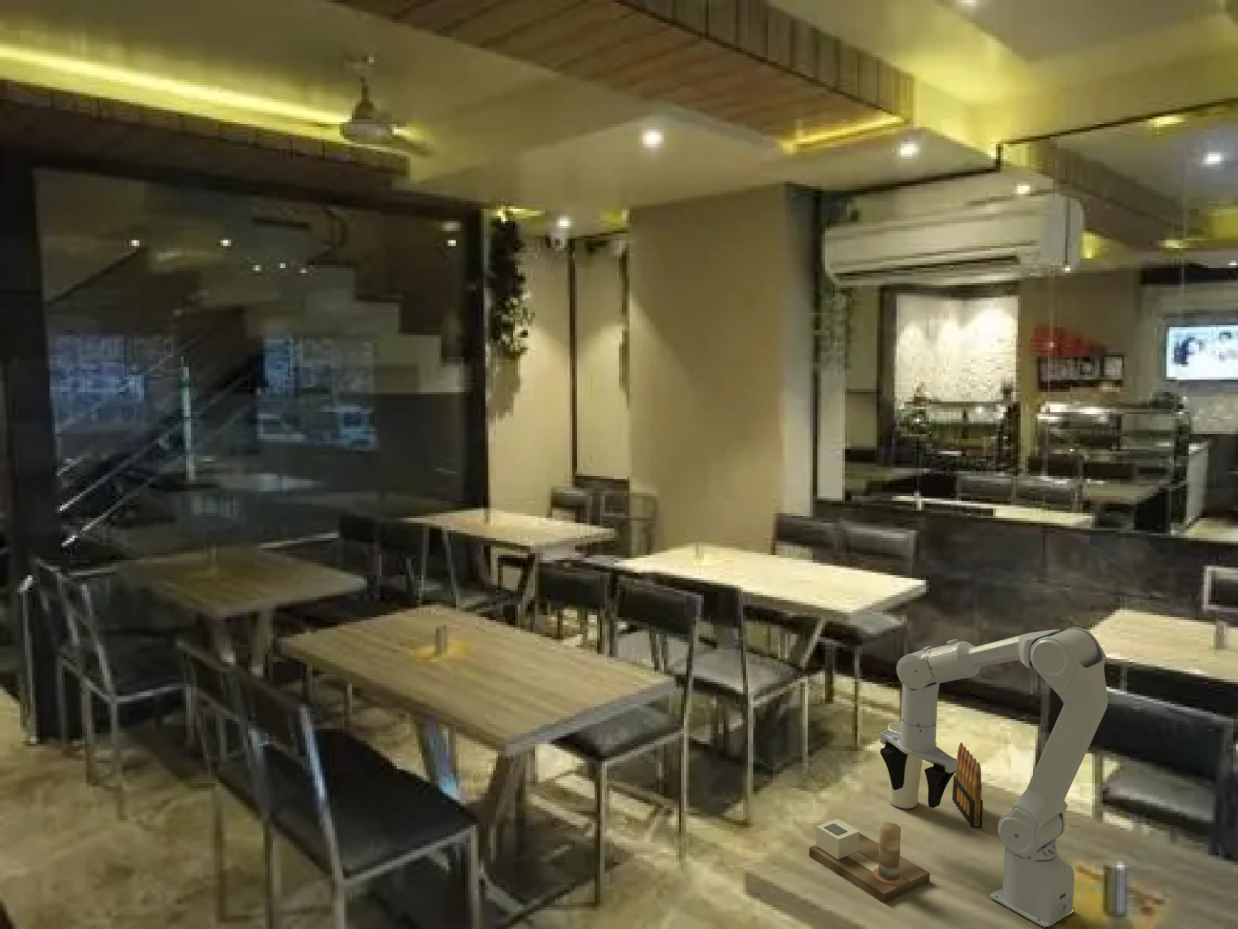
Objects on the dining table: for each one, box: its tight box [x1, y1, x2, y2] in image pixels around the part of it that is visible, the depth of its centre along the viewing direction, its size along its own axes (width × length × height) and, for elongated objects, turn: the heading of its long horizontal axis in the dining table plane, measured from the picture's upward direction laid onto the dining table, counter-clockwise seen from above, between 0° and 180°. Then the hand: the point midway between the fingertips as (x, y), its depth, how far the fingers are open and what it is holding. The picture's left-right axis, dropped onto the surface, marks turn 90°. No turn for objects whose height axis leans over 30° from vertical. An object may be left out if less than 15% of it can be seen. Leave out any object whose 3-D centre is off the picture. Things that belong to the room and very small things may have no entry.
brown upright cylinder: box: [878, 821, 902, 881], centre depth 141 cm, size 3×3×8 cm
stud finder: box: [815, 818, 860, 859], centre depth 149 cm, size 5×5×4 cm
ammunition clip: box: [951, 741, 984, 829], centre depth 165 cm, size 11×2×12 cm, turn 178°
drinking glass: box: [887, 721, 923, 810], centre depth 169 cm, size 7×7×15 cm
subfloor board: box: [808, 832, 931, 904], centre depth 147 cm, size 16×11×2 cm
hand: (915, 797), depth 152 cm, fingers open, 7 cm apart
